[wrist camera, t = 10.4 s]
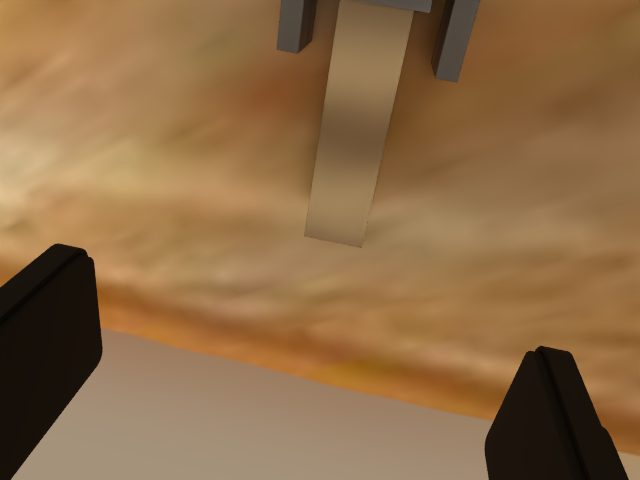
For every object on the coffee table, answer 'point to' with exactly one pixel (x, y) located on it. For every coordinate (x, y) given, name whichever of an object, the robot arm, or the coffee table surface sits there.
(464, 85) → the coffee table surface
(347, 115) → the bed rail
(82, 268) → the robot arm
